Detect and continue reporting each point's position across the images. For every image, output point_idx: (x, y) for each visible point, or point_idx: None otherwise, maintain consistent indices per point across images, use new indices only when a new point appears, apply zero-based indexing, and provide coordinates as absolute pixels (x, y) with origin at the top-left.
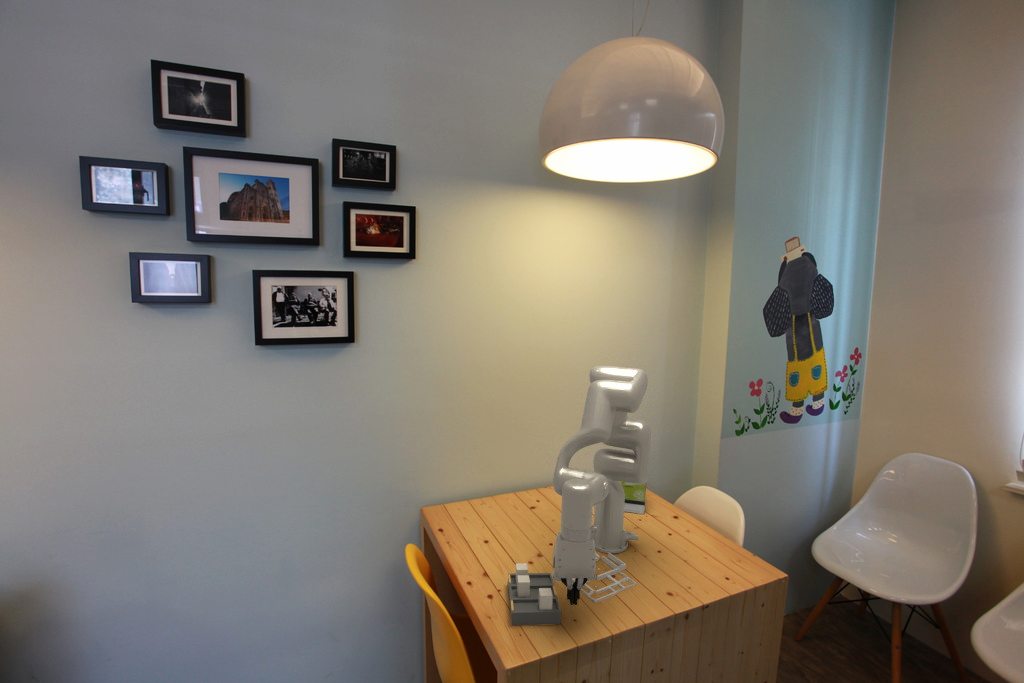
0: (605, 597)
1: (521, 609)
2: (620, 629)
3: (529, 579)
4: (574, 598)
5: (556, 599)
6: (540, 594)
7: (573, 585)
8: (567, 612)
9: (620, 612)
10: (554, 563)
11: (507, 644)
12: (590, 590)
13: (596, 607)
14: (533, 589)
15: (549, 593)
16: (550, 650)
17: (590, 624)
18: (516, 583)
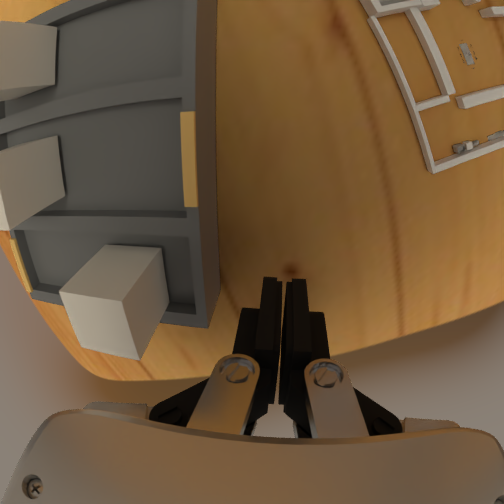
0: (484, 152)
1: (54, 267)
2: (437, 324)
3: (2, 200)
4: (280, 359)
5: (193, 241)
6: (78, 338)
7: (284, 370)
8: (268, 221)
9: (488, 246)
10: (39, 436)
11: (70, 332)
12: (438, 78)
13: (422, 202)
14: (83, 118)
15: (120, 342)
16: (179, 372)
17: (349, 299)
18: (14, 98)
